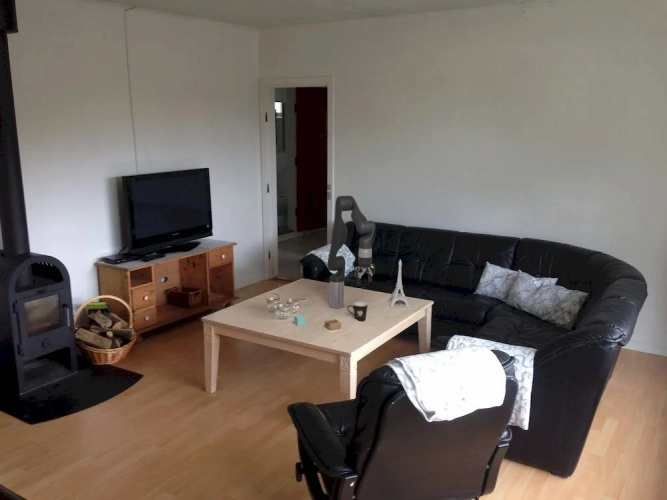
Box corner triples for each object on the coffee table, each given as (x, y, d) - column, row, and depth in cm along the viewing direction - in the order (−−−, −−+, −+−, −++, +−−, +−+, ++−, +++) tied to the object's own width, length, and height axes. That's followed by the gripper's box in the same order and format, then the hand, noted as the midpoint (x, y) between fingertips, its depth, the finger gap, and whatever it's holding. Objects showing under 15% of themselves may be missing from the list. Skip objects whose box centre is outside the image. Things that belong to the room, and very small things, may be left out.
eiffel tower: (386, 300, 403) (388, 257, 396) (406, 300, 404) (408, 257, 397) (390, 307, 390) (391, 262, 383) (410, 306, 391) (412, 262, 384)
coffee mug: (369, 319, 365) (370, 303, 363) (363, 323, 358) (363, 307, 356) (353, 315, 371) (353, 300, 369) (346, 319, 364) (346, 303, 362)
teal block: (294, 325, 352) (294, 315, 351) (301, 324, 355) (301, 314, 353) (297, 328, 348) (297, 318, 347) (305, 326, 350) (305, 317, 349)
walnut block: (324, 327, 346) (324, 320, 345) (335, 325, 349) (335, 319, 348) (330, 331, 340) (330, 324, 339) (341, 329, 343) (341, 322, 342)
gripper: (369, 252, 348) (369, 279, 352) (351, 256, 340) (350, 283, 343) (378, 255, 343) (377, 282, 346) (360, 258, 334) (359, 286, 338)
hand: (364, 283), depth 345 cm, fingers open, 8 cm apart
